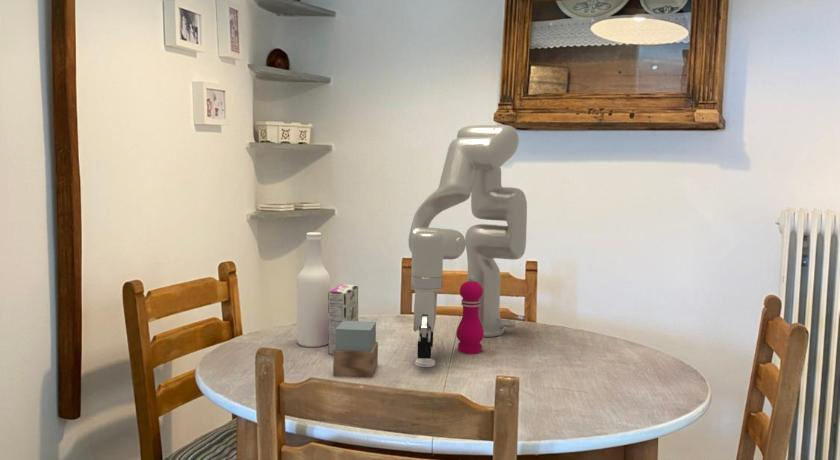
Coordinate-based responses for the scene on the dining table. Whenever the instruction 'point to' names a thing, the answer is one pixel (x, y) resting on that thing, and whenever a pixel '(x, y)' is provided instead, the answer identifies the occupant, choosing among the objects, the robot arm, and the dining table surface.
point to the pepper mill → (470, 318)
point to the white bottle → (313, 296)
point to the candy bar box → (341, 309)
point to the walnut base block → (355, 363)
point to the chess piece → (425, 362)
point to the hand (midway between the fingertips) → (425, 352)
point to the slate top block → (355, 336)
